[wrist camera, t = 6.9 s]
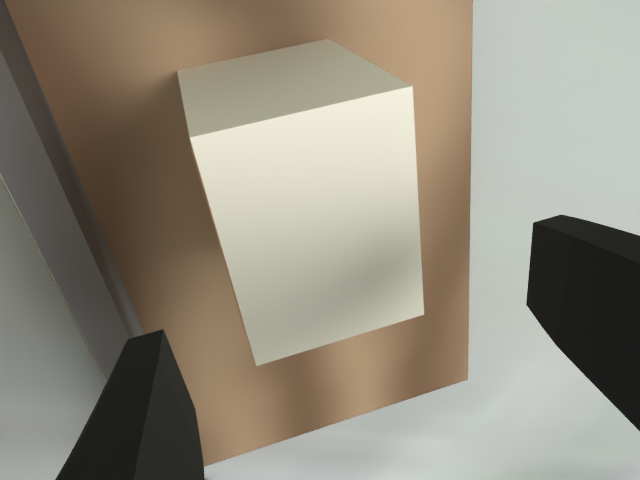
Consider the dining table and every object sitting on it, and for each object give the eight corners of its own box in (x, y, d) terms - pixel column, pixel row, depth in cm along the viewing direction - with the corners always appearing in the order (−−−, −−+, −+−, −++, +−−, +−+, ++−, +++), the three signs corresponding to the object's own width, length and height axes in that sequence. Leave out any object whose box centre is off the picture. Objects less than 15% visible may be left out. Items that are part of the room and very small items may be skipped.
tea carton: (225, 247, 18) (254, 366, 13) (174, 71, 15) (187, 138, 10) (350, 213, 19) (423, 314, 14) (328, 38, 15) (412, 85, 10)
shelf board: (170, 449, 24) (173, 520, 21) (-184, -315, 11) (-309, -410, 8) (452, 358, 26) (490, 410, 23) (446, -366, 13) (532, -455, 10)
